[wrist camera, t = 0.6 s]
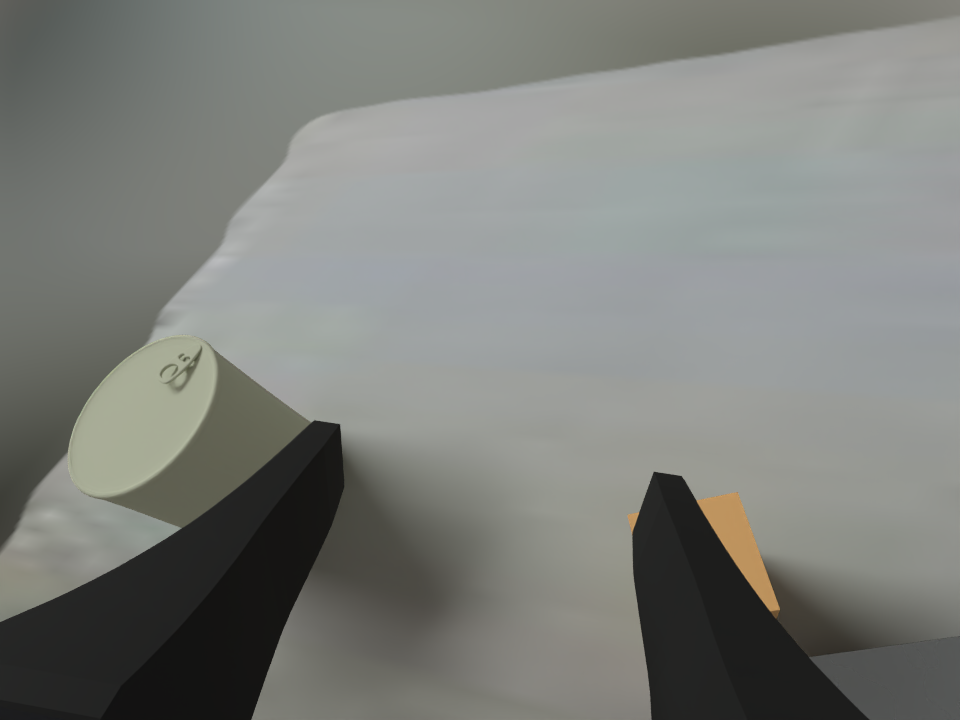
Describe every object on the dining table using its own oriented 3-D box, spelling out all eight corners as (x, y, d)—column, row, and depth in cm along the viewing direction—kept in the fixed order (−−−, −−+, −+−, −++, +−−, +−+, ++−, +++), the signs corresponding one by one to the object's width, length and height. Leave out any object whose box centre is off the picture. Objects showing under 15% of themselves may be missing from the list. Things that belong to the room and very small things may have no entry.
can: (368, 459, 37) (244, 365, 28) (274, 588, 35) (103, 533, 25) (285, 403, 42) (157, 306, 33) (198, 511, 40) (32, 442, 30)
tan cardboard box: (767, 641, 25) (780, 609, 19) (673, 654, 26) (655, 629, 20) (735, 548, 27) (737, 492, 21) (650, 564, 28) (627, 514, 22)
